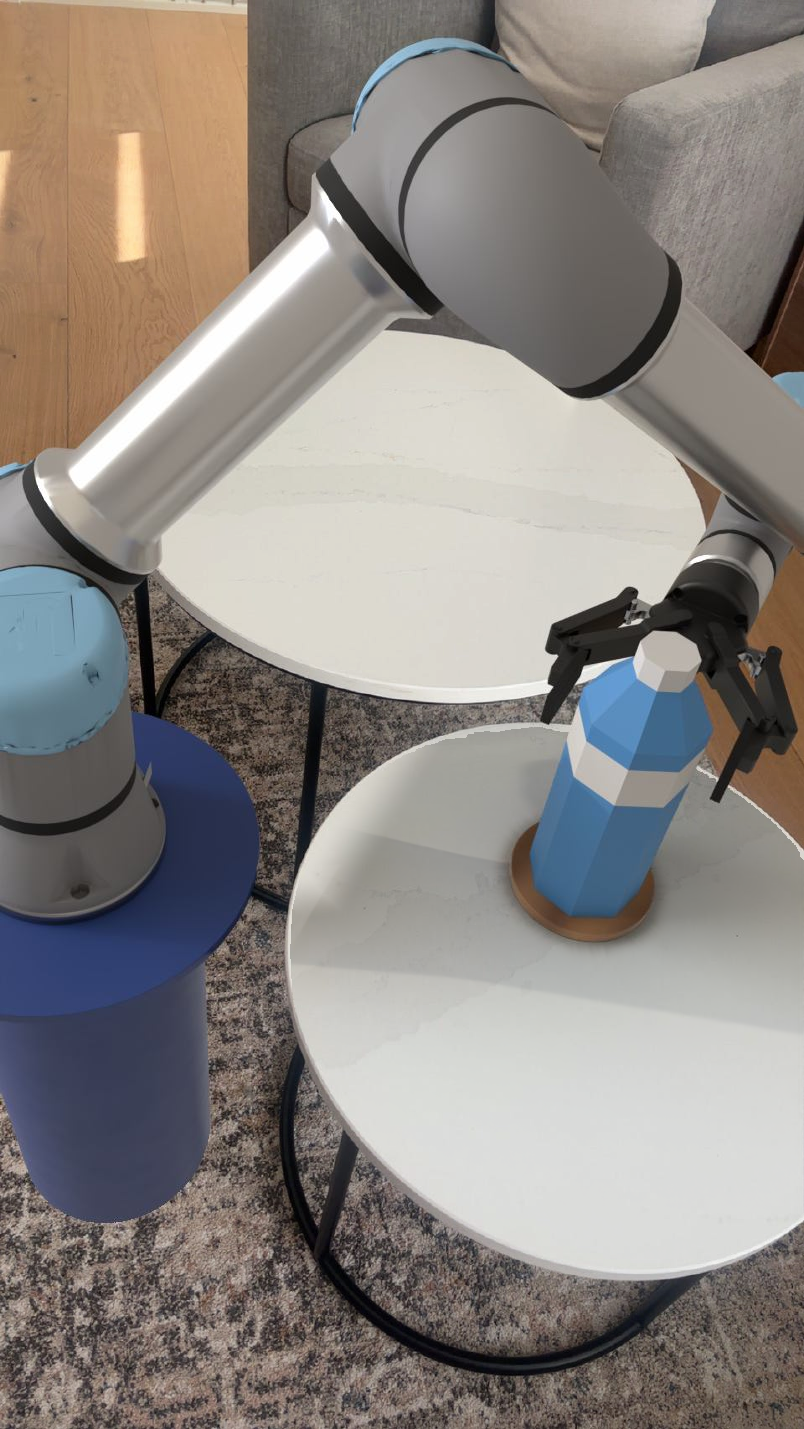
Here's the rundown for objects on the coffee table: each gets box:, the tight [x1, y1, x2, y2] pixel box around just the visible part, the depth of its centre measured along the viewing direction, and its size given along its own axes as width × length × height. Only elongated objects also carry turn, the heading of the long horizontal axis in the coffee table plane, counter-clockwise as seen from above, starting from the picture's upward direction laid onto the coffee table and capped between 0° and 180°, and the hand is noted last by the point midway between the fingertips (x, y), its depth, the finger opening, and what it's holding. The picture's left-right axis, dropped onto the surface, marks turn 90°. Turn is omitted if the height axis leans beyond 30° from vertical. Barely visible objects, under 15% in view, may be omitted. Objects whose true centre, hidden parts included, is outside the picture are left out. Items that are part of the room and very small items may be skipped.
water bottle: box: [530, 631, 715, 918], centre depth 81 cm, size 9×9×25 cm
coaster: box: [508, 821, 656, 943], centre depth 90 cm, size 12×12×1 cm
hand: (631, 749), depth 80 cm, fingers open, 13 cm apart
